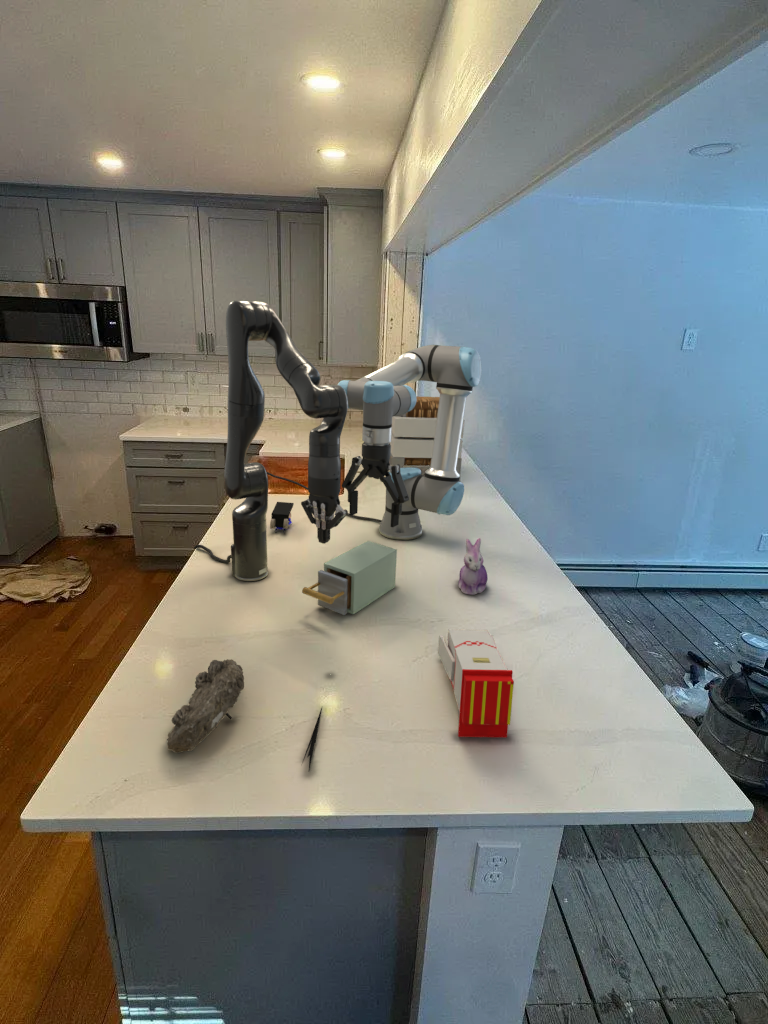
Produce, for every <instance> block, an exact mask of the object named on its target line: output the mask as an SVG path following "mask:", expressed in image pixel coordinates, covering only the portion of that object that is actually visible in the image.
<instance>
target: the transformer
mask: <svg viewBox="0 0 768 1024" xmlns="http://www.w3.org/2000/svg"><path fill="white" fill-rule="evenodd" d="M416 398H417V401H416V405H415V407H414V408H413V409H412V410H411V411H409V412H407V413H405V414H400V415H396V416H393V417H392V436H391V442H390V443H389V444H390V445H391V455H390V459H389V463H390V465H397V464H399V465H400V468H405V466H406V467H409V466H411V467H417V466H418V467H430V465H431V458H432V450H433V443H434V435H435V428H436V420H437V413H438V406H439V398H440V396H417V395H416ZM464 429H465V419H464V418H463V425H462V432H461V439H460V446H459V453H458V460H457V467H456V471H457V473H458V474H459V475H460V476H461V472H462V461H463V460H462V453H463V442H464V441H463V440H462V439H463V438H464V431H465V430H464ZM459 482H461V477H460V478H459Z"/></svg>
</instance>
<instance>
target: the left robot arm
mask: <svg viewBox="0 0 768 1024" xmlns="http://www.w3.org/2000/svg"><path fill="white" fill-rule="evenodd" d="M225 333H226V347H227V361H228V385H227V386H228V388H227V438H226V440H227V441H226V452H225V459H224V460H225V462H224V470H223V471H224V472H223V485H224V490H225V493H226V496H228V497H229V499H231V500H235V501H237V500H243V499H244V500H243V501H242V502H241V503H240V504H238V505H237V506H236V507H234V508H233V510H232V512H231V519H232V520H231V521H232V536H233V538H232V539H233V540H232V541H233V544H231V545H230V554H229V555H227V556H226V559H223V558H220V557H218V556H217V555H215V554H214V552H213V551H212V550H211V549H210V548H208V547H207V546H205V545H203V544H196V545H195V546H194V547H193V549H195V550H197V549H202V550H204V551H205V552H207V553H208V554H209V556H210V557H211V558H212V559H213V560H215V561H217V562H220V563H223V564H230V563H231V576H232V577H235V578H236V579H237V580H238V581H242V582H257V581H260V580H263V579H265V578H266V577H267V576H268V575H269V569H268V540H267V539H268V538H267V536H268V535H267V513H268V508H269V475H268V474H267V472H268V471H267V470H266V468H265V466H264V465H263V464H262V463H261V462H256V461H255V462H254V461H252V462H246V456H247V453H248V450H249V449H250V448H249V447H250V446H251V444H252V442H253V441H254V439H255V437H256V435H257V434H258V432H259V431H260V429H261V428H262V425H263V422H264V419H265V404H266V403H265V402H266V396H265V395H266V394H265V391H264V389H263V386H262V384H261V383H260V380H259V379H258V377H257V375H256V373H255V371H254V370H253V368H252V366H251V363H250V357H249V342H260V341H264V342H266V343H267V344H268V345H270V346H271V347H272V348H273V349H274V362H275V366H276V369H277V371H278V373H279V375H280V376H281V377H282V379H283V380H284V381H285V382H286V383H287V384H288V385H289V386H290V388H292V390H293V393H294V395H295V397H296V399H297V403H298V404H299V406H300V409H301V410H302V412H303V413H304V414H305V415H306V416H307V417H309V418H311V419H314V420H319V419H322V421H321V423H320V424H319V425H317V426H316V427H314V428H311V430H310V431H309V433H308V434H309V435H308V461H307V488H308V490H307V492H308V493H309V494H308V498H307V499H306V500H302V501H301V502H300V504H301V507H302V509H303V510H304V512H305V514H306V516H307V518H308V521H309V522H310V524H312V525H315V526H316V528H317V531H316V532H317V534H316V535H317V537H316V538H317V540H318V543H320V544H323V545H324V544H326V543H328V542H329V541H330V540H331V530H333V528H336V527H338V526H339V525H340V524H341V522H342V521H343V520H344V519H345V517H346V516H347V514H348V513H349V511H348V510H347V509H343V507H342V506H341V500H340V493H341V479H342V478H341V474H342V473H341V470H342V463H341V462H342V461H341V436H342V432H343V429H344V425H345V422H346V418H347V415H348V410H349V409H348V397H347V394H346V392H345V390H344V389H343V388H342V387H341V386H339V385H337V384H323V385H320V384H321V383H320V382H321V374H320V372H319V370H318V369H317V368H316V367H315V366H314V364H313V363H312V362H311V361H310V360H309V359H308V358H307V356H305V354H304V353H303V352H302V351H301V350H300V349H299V347H298V346H297V345H296V344H295V342H294V339H292V337H291V335H290V334H289V332H288V330H287V329H286V327H285V325H284V324H283V322H282V321H281V319H280V317H279V315H278V314H277V313H276V311H275V310H274V308H273V307H272V306H271V305H270V304H268V303H267V302H265V301H262V300H261V301H260V300H259V301H258V300H243V299H242V300H241V299H240V300H239V299H236V300H232V301H231V302H230V303H229V304H228V306H227V308H226V314H225ZM245 462H246V463H245Z"/></svg>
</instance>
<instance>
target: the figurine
mask: <svg viewBox="0 0 768 1024" xmlns="http://www.w3.org/2000/svg"><path fill="white" fill-rule="evenodd" d="M481 545H482V539H481V538H480V537H478V538H477V539H476V541H475V542H474V544H472V542H471V540H470V539H469V538H466V539H465V551H466V553H465V554H464V557H463V564H464V565H463V566H462V567H461V568H460V570H459V575H458V576H459V580H458V584H457V585H458V588H459V589H460V590H461V593H463V594H465V595H473V596H474V595H477V594H481V593H482V592H483V591H485V590H486V586H487V584H488V583H487V582H488V572H487V568H486V567H485V566H484V557H483V555H482V553H481Z"/></svg>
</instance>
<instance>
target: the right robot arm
mask: <svg viewBox="0 0 768 1024" xmlns="http://www.w3.org/2000/svg"><path fill="white" fill-rule="evenodd" d="M482 370H483V368H482V359H481V355H480V354H479V352H478V350H477V349H475V348H473V347H467V346H459V345H458V346H455V345H441V344H440V345H439V344H428V345H427V344H426V345H423V346H419V347H416V348H414V349H411V350H409V351H406V352H404V353H402V354H401V355H400V356H399V357H398V358H397V360H395V361H393V362H391V363H389V364H387V365H385V366H383V367H381V368H379V369H377V370H374V371H373V372H371V373H369V374H367V375H365V376H362V377H360V378H359V379H356V380H351V379H343V380H339V382H338V383H337V384H336V385H339V386H341V387H342V388H343V389H344V390H345V392H346V394H347V397H348V410H359V411H362V432H361V433H362V435H361V441H362V443H361V455H357V456H354V457H351V465H350V466H349V468H348V471H347V473H346V476H345V477H344V479H343V482H342V483H341V488H343V489H345V490H346V491H347V502H348V503H349V511H348V514H347V515H346V516H347V517H350V518H354V519H360V520H365V521H372V522H375V523H376V522H377V523H379V526H378V533H379V534H380V535H381V536H382V537H385V538H387V539H389V540H395V541H410V540H415V539H418V538H420V537H421V536H422V535H423V525H422V524H421V518H420V515H419V510H421V511H426V512H429V513H435V514H437V515H443V516H451V515H453V514H454V513H456V512H457V510H458V509H459V508H460V506H461V503H462V502H463V501H462V500H463V497H464V494H465V485H464V483H463V482H461V481H460V482H459V478H460V479H461V474H460V475H459V474H458V473H457V471H456V467H457V460H458V453H459V446H460V439H461V440H462V438H461V432H462V425H463V419H464V417H465V411H466V404H467V397H468V396H470V394H472V393H473V388H475V387H477V386H478V385H479V384H480V382H481V379H482V372H483V371H482ZM418 381H419V382H422V381H423V382H432V383H436V386H435V389H436V390H437V391H438V393H439V397H440V398H439V406H438V413H437V420H436V428H435V435H434V443H433V450H432V458H431V465H430V466H429V468H427V469H426V470H424V474H422V470H421V468H419V467H414V466H411V467H409V466H406V467H404V468H400V465H399V464H397V465H390V463H389V459H390V455H391V445H390V444H389V443H390V442H391V436H392V417H393V416H396V415H400V414H405V413H407V412H409V411H411V410H412V409H413V408H414V407H415V405H416V401H417V398H416V397H417V394H416V391H415V390H414V389H413V388H412V387H411V386H409V385H407V384H408V383H409V384H413V383H416V382H418ZM361 467H362V470H361V471H360V472H359V474H358V475H357V473H358V471H359V469H360V468H361ZM266 472H267V476H270V477H271V478H272V477H273V478H275V479H278V480H283V481H286V482H289V483H292V484H295V485H297V486H299V487H300V488H303V489H305V490H307V491H308V486H305V485H304V484H302V483H299V482H297V481H295V480H292V479H289V478H286V477H282V476H278V475H276V474H273V473H270V472H268V471H266ZM356 475H357V476H356ZM367 477H368V478H371V479H372V478H373V479H375V480H379V481H380V482H381V483H382V484H383V485H384V487H385V504H384V505H385V507H384V508H385V509H384V513H383V515H382V519H379V518H374V517H368V516H360V515H356V514H358V508H359V506H358V505H359V490H357V489H358V487H359V486H360V485H361V484H362V483H363V482H364V481H365V479H366V478H367Z"/></svg>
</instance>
